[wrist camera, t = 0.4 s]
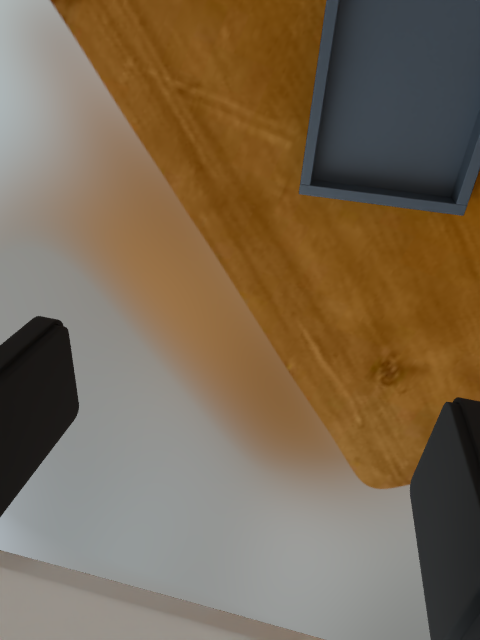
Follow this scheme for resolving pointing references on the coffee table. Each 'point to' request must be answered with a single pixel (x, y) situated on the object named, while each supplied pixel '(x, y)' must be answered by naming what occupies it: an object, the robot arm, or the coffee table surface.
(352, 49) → the tray
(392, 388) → the coffee table surface
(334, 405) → the coffee table surface
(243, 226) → the coffee table surface
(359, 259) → the coffee table surface
